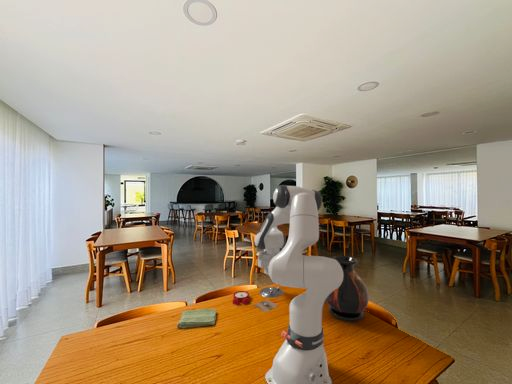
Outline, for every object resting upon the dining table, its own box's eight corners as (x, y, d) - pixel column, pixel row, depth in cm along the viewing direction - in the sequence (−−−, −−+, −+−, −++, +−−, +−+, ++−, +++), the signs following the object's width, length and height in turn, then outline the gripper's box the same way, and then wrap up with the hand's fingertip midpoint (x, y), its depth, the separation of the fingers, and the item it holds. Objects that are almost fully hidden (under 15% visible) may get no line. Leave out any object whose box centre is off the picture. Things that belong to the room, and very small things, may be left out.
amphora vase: (323, 301, 122) (322, 252, 123) (365, 306, 116) (363, 255, 117) (323, 322, 102) (321, 263, 103) (373, 330, 95) (371, 267, 96)
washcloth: (215, 326, 100) (215, 320, 100) (176, 330, 98) (176, 323, 98) (216, 312, 113) (216, 306, 113) (182, 315, 111) (182, 309, 111)
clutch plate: (271, 276, 129) (271, 271, 129) (262, 272, 135) (262, 268, 135) (278, 273, 133) (278, 268, 133) (270, 270, 139) (269, 265, 139)
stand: (265, 314, 109) (265, 310, 109) (253, 307, 117) (253, 303, 117) (279, 308, 116) (278, 303, 116) (266, 301, 123) (266, 297, 123)
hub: (271, 302, 122) (271, 295, 122) (254, 293, 134) (254, 287, 134) (288, 294, 132) (288, 288, 132) (271, 287, 143) (271, 281, 144)
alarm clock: (249, 289, 131) (250, 295, 117) (250, 301, 130) (250, 307, 115) (233, 290, 131) (231, 295, 116) (232, 301, 129) (231, 308, 115)
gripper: (262, 253, 125) (262, 277, 124) (285, 247, 138) (285, 269, 138) (255, 251, 130) (255, 274, 129) (278, 246, 143) (278, 266, 142)
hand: (271, 271), depth 134 cm, fingers closed on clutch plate, 6 cm apart
